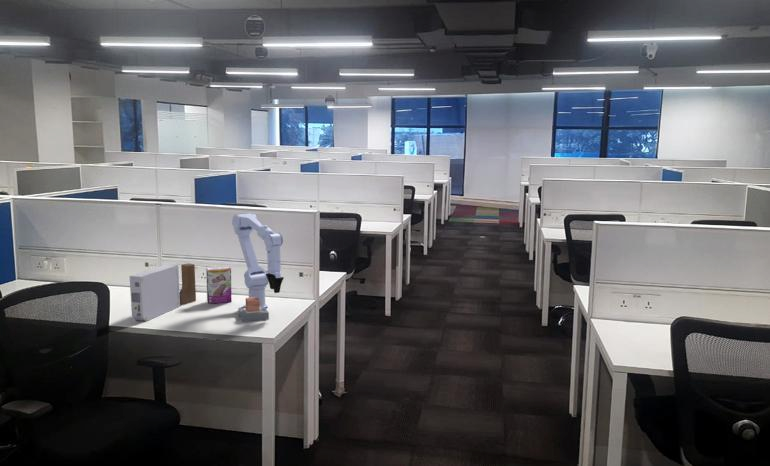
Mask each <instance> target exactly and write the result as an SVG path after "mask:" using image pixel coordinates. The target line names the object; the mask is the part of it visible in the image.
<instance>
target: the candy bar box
mask: <svg viewBox="0 0 770 466" xmlns="http://www.w3.org/2000/svg"><path fill="white" fill-rule="evenodd" d="M205 270H206V272H205V274H206V302H207V304H221V303H223V304H225V303H231V302H232V301H233V300H232V269H231V266H223V267H220V266H219V267H206V268H205Z"/></svg>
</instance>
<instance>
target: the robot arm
mask: <svg viewBox="0 0 770 466" xmlns="http://www.w3.org/2000/svg"><path fill="white" fill-rule="evenodd" d="M231 224H232V226H233V227H232V228H233V230H234V233H235V235H237V238H238V242H239V244H240V248H241V250H242V255H243V258H244V260H245V264H246V267H247V269H246V271H245V272H244V273H243V277H244V284H245V286H246V288H247V289H248V298H251V297H258V299H259V304H260V306H264V307H265V309H267V308H268V305H267V304H266V288H267V286H268V285H269V288H270V290H273V292H274V294H276V293H277V294H279V293H280V292H281V288H282V287H281V286H282V284H283V282H284V276H281V273H282V263H281V260H282V259H281V255H282V254H281V246H282V245H283V243H284V238H283V235H282V234H281V232H275V231H274V230H272V229H271V228H270V227H269V226H268V224H267V225H263V224H262V223H261V222H260V221H259V220H258V218H257V215H256V214H255V213H254V212H250V213H243V214H241V213H239V214H234V215H233V217H232V222H231ZM253 231H256V234H257V236H258V237H259V238H260V239H262V240H263V243H264V245H265V250H266V251H267V253H266V254H267V270H266V269H265V268H264V267H262V266H260V265H259V262H258V259H257V256H256V253H255V248H254V246H253V244H252V243H253V242H252V240H251V236H250V234H252V233H253Z"/></svg>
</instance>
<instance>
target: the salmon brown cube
mask: <svg viewBox="0 0 770 466" xmlns="http://www.w3.org/2000/svg"><path fill="white" fill-rule="evenodd" d="M245 308H246V310H247V311H248V312H254V311H260V304H259V299H258V297H251V298H249V297H245Z"/></svg>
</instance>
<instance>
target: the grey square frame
mask: <svg viewBox="0 0 770 466" xmlns="http://www.w3.org/2000/svg"><path fill="white" fill-rule="evenodd" d="M237 309H238V316H239V318H240V319H241V321H242V322H243V323H245V322H255V321H263V320H269V319H270V318H269V317H270V313H269V311H268V310H267V308H265V307H264V306H260V311H254V312H248V311H247V310H246V307H239V308H237Z"/></svg>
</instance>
